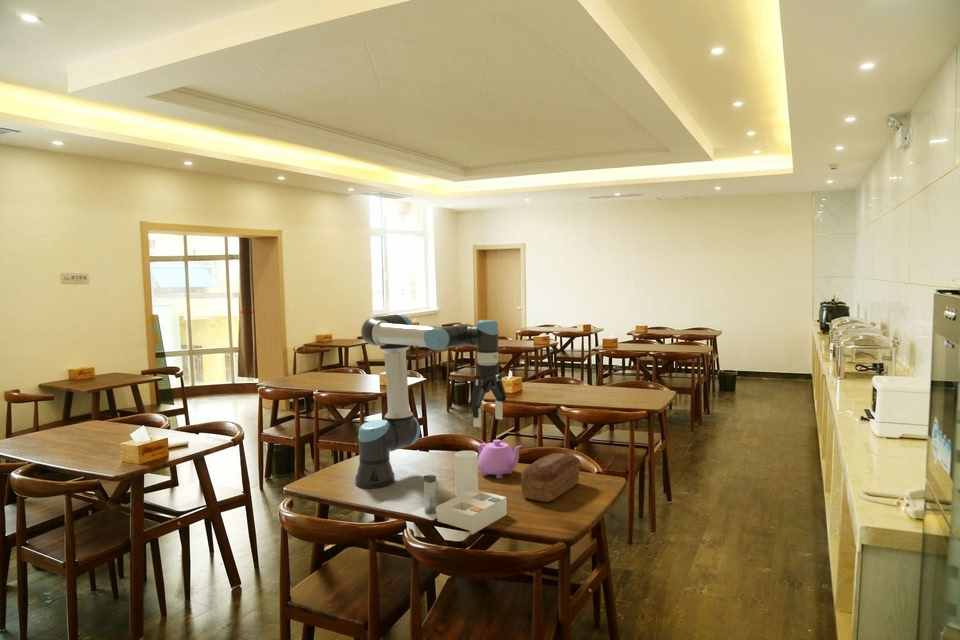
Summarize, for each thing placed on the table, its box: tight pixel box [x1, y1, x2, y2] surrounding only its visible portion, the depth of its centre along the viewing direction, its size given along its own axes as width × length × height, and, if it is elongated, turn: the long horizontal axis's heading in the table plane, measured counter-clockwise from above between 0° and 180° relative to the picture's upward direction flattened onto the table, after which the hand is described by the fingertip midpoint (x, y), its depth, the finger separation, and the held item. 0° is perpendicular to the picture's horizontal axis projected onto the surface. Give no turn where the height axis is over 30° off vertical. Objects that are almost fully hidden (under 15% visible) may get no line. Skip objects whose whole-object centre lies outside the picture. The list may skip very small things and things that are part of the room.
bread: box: [520, 452, 581, 503], centre depth 225 cm, size 14×28×12 cm, turn 146°
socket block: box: [436, 489, 508, 535], centre depth 200 cm, size 14×19×6 cm
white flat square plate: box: [409, 505, 438, 521], centre depth 204 cm, size 10×10×1 cm
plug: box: [422, 474, 437, 514], centre depth 204 cm, size 4×4×12 cm
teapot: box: [477, 439, 523, 480], centre depth 245 cm, size 22×16×14 cm
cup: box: [454, 450, 479, 497], centre depth 220 cm, size 8×8×16 cm
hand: (488, 422), depth 217 cm, fingers open, 13 cm apart
